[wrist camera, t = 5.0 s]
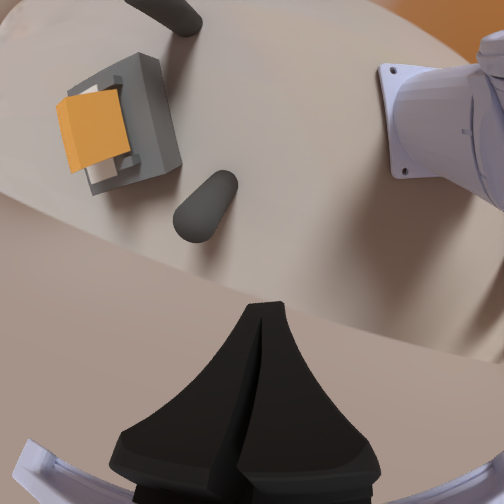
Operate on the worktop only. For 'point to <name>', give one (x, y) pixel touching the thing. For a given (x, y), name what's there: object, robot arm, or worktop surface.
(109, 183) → the breaker box
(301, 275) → the worktop surface
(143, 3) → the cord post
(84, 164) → the breaker paddle
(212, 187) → the cylinder
